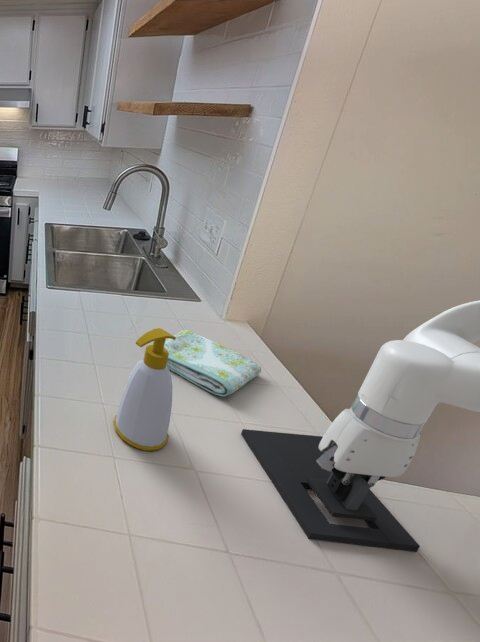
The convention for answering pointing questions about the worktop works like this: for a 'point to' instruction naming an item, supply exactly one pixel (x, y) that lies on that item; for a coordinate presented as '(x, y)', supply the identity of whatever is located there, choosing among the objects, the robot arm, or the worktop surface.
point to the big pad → (291, 480)
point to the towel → (209, 363)
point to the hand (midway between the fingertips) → (342, 494)
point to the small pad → (351, 505)
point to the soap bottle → (147, 396)
